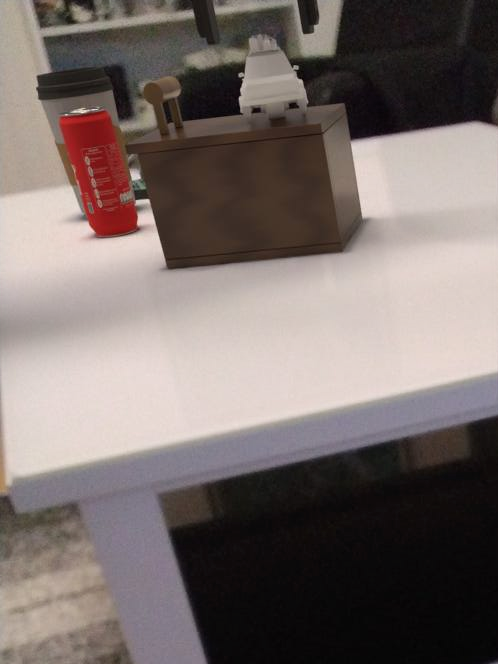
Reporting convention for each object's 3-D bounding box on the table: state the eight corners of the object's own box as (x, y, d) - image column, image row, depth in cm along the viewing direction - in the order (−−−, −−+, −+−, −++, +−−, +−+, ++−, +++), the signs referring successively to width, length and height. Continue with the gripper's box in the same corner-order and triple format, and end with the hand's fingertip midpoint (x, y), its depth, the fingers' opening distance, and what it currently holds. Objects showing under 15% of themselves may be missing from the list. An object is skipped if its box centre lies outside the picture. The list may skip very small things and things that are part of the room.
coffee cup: (106, 205, 127) (66, 69, 119) (159, 204, 124) (123, 63, 116) (60, 222, 121) (15, 78, 113) (115, 220, 118) (73, 73, 109)
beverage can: (115, 238, 109) (79, 114, 102) (83, 237, 112) (45, 115, 105) (150, 226, 113) (118, 105, 106) (119, 225, 115) (85, 106, 108)
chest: (167, 268, 95) (136, 153, 89) (205, 234, 106) (180, 130, 100) (342, 251, 93) (322, 133, 88) (362, 219, 104) (346, 112, 99)
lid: (126, 154, 89) (109, 90, 86) (171, 131, 100) (157, 74, 98) (322, 133, 88) (311, 67, 85) (346, 112, 99) (336, 53, 96)
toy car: (307, 107, 98) (293, 25, 95) (312, 121, 89) (296, 31, 85) (245, 115, 98) (228, 34, 94) (243, 131, 88) (224, 40, 84)
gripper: (314, -202, 83) (347, 28, 92) (145, -181, 85) (194, 44, 93) (296, -215, 77) (333, 33, 86) (115, -192, 78) (170, 51, 87)
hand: (261, 39), depth 90 cm, fingers open, 8 cm apart
